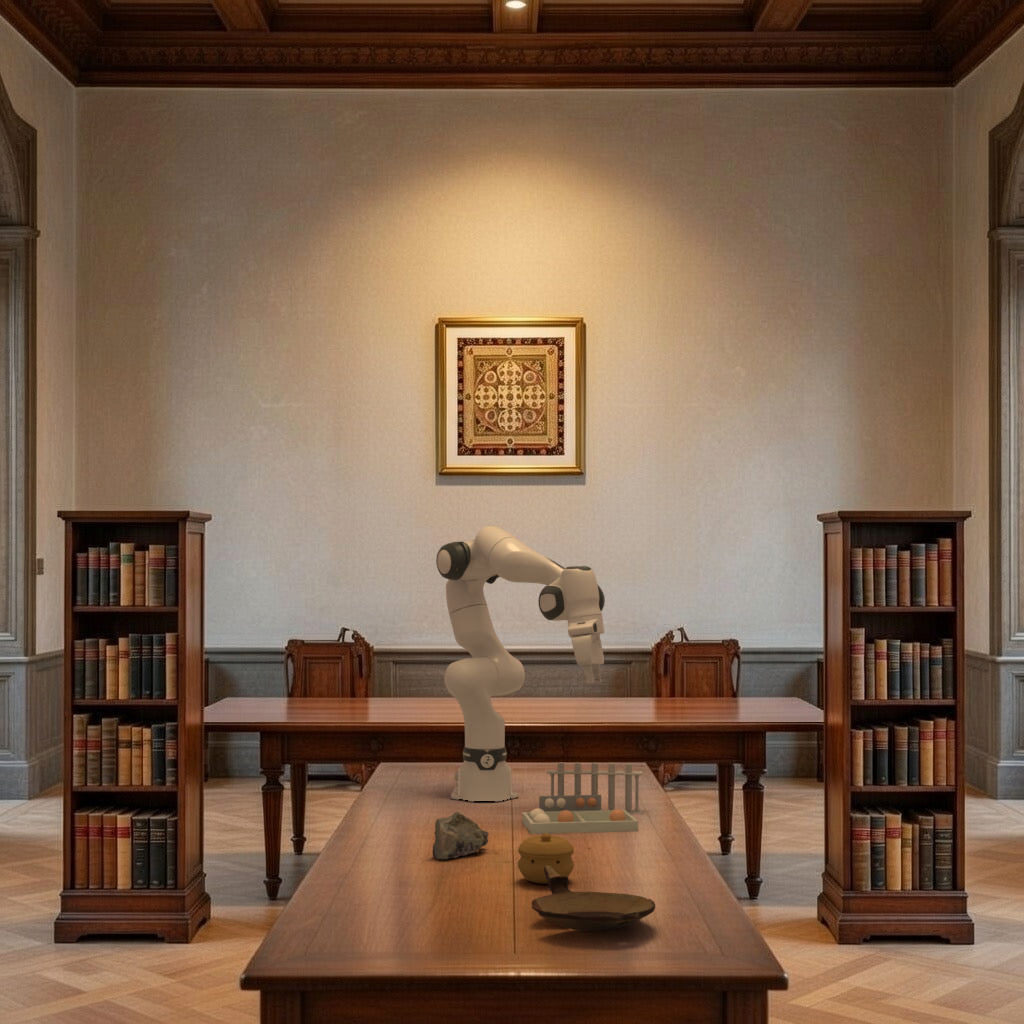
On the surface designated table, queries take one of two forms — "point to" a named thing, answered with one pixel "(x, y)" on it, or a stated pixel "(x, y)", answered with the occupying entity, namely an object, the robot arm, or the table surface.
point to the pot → (545, 857)
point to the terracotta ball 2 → (617, 815)
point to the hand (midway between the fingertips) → (593, 683)
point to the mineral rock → (457, 837)
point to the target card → (570, 803)
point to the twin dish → (581, 823)
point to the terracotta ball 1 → (565, 816)
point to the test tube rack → (594, 783)
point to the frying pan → (589, 906)
